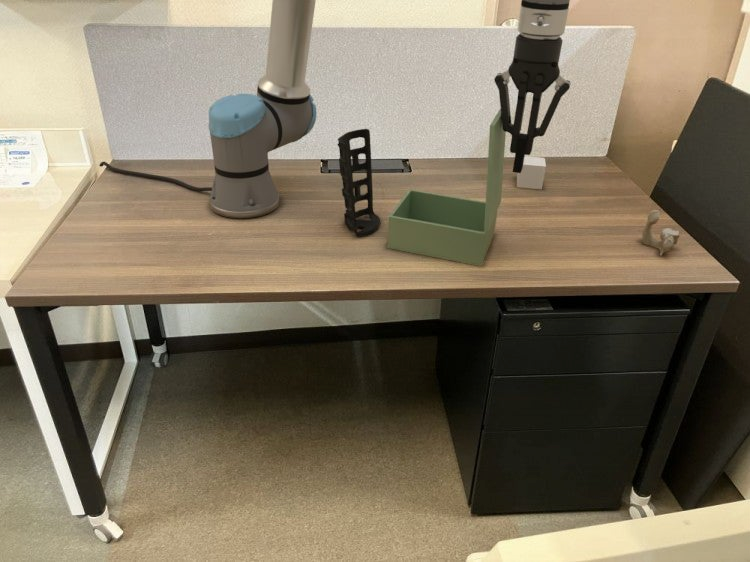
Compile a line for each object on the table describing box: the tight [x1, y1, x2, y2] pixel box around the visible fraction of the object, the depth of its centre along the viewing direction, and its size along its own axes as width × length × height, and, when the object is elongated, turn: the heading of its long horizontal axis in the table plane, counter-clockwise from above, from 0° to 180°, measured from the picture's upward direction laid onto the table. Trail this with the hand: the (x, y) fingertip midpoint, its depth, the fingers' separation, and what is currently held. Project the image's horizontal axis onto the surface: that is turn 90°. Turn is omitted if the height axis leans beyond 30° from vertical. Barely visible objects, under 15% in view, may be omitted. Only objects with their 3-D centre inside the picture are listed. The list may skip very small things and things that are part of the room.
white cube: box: [516, 155, 547, 190], centre depth 150 cm, size 6×6×6 cm
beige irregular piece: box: [641, 209, 681, 257], centre depth 122 cm, size 9×6×10 cm
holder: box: [336, 128, 381, 238], centre depth 124 cm, size 11×8×20 cm
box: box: [386, 189, 499, 267], centre depth 123 cm, size 19×14×7 cm
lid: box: [484, 107, 507, 232], centre depth 113 cm, size 20×14×1 cm
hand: (517, 169), depth 112 cm, fingers closed
